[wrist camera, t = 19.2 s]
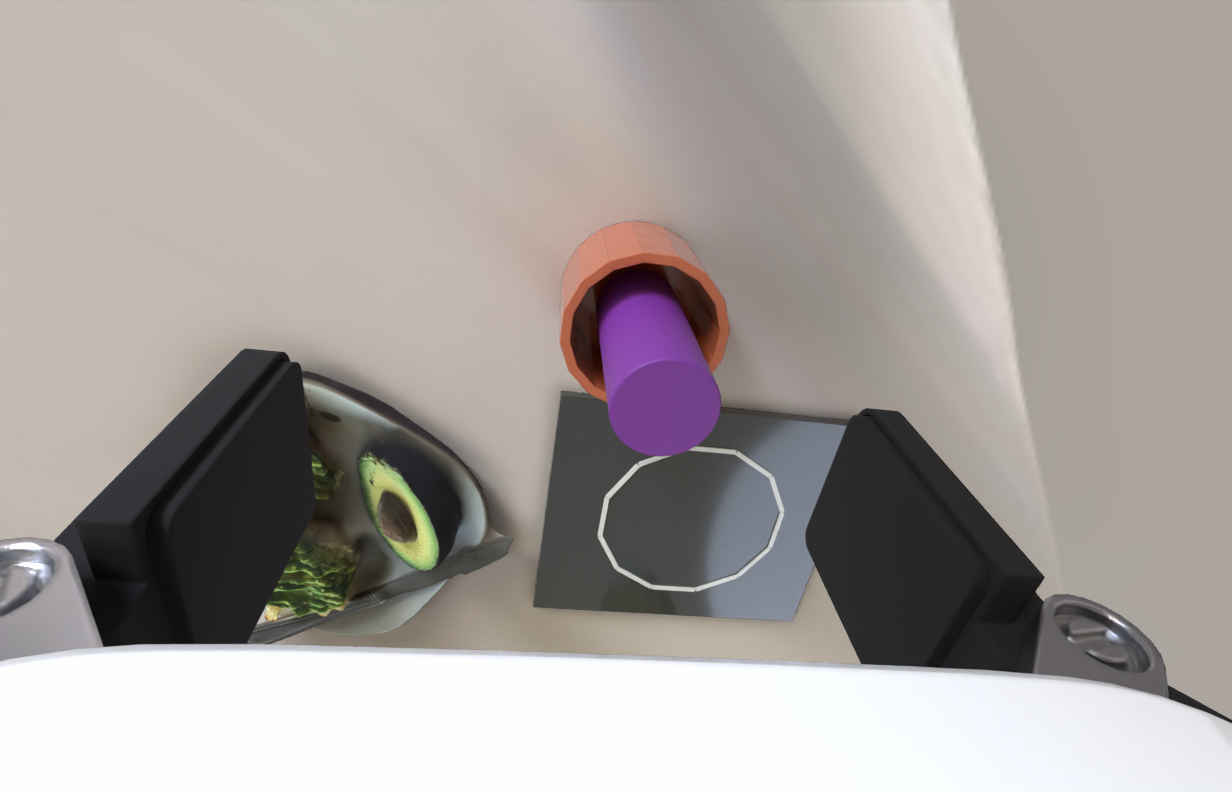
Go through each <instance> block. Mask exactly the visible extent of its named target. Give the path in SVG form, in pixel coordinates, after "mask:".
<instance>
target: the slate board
mask: <svg viewBox="0 0 1232 792" xmlns="http://www.w3.org/2000/svg"><path fill="white" fill-rule="evenodd" d="M848 422H849V421H848V420H838V419H829V418H819V417H809V416H799V415H790V414H780V413H770V412H761V411H751V410H741V409H732V408H722V407H721V410H720V415H719V418H718V421H717V423H716V425H715V427H714V428H713V430H712V431H711V433H710V434H709V435H708V436H707V437H706V438H705V439H704V440H703V441H702V442H701V443H700V444H698V445H697V446H695V447H693V448H692V449H690V450H688V451H685V452H683V453H680V454H676V455H671V456H650V455H646V454H642V453H639V452H637V451H635V450H633V449H631V448H630V447H628V446H627V445H625V444H624V443H623V442H622V441H621V440H620V439H619V438H618V436H617V435H616V434H615V432H614V430H613V428H612V426H611V423H610V419H609V412H608V404H607V402H605V401H603V400H601V399H599V398H597V397H595V396H593V395H591V394H586V393H577V392H567V391H561V394H560V401H559V409H558V417H557V424H556V432H555V440H554V447H553V455H552V462H551V470H550V478H549V485H548V493H547V500H546V508H545V516H544V523H543V531H542V539H541V546H540V554H539V561H538V569H537V577H536V584H535V592H534V600H533V607H539V608H557V609H575V610H594V611H612V612H630V613H648V614H666V615H685V616H703V617H721V618H739V619H757V620H775V621H792V619H793V617H794V614H795V612H796V609H797V607H798V604H799V602H800V599H801V597H802V594H803V592H804V590H805V587H806V585H807V582H808V580H809V577H810V575H811V572H812V570H813V567H814V565H815V564H814V562H813V560H812V558H811V556H810V554H809V551H808V549H807V546H806V541H805V534H806V529H807V526H808V523H809V520H810V518H811V515H812V513H813V510H814V508H815V505H816V503H817V500H818V498H819V495H820V493H821V490H822V487H823V485H824V482H825V480H826V477H827V475H828V472H829V470H830V467H831V465H832V462H833V460H834V457H835V455H836V452H837V449H838V447H839V444H840V442H841V439H842V437H843V434H844V432H845V429H846V427H847V424H848Z"/></svg>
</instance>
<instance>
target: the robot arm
mask: <svg viewBox="0 0 1232 792" xmlns="http://www.w3.org/2000/svg"><path fill="white" fill-rule="evenodd" d="M314 507H315V487H314V478H313V469H312V459H311V450H310V441H309V432H308V423H307V414H306V405H305V396H304V386H303V377H302V370H301V367H300V364H298V363H297V362H290V359H289V357H288V355H287V354H286V353H285V352H276V351H265V350H255V349H244V350H242V351H241V352H240V353H239V354H238V355H237V356H236V357H235V358H234V359H233V360H232V361H231V362H230V363H229V364H228V365H227V366H226V367H225V368H224V369H223V370H222V371H221V372H220V373H219V374H218V375H217V376H216V377H215V378H214V379H213V380H212V381H211V382H210V383H209V384H208V385H207V386H206V387H205V388H204V389H203V390H202V391H201V392H200V393H199V394H198V395H197V396H196V397H195V398H194V399H193V400H192V401H191V402H190V403H189V404H188V405H187V406H186V407H185V408H184V409H183V410H182V411H181V412H180V413H179V414H178V415H177V416H176V417H175V418H174V419H173V420H172V421H171V422H170V423H169V424H168V425H167V426H166V427H165V429H164V430H163V431H162V432H161V433H160V434H159V435H158V436H157V437H156V438H155V439H154V440H153V441H152V442H151V443H150V444H149V445H148V446H147V447H146V448H145V449H144V450H143V451H142V452H141V453H140V454H139V455H138V456H137V457H136V458H135V459H134V460H133V461H132V462H131V463H130V464H129V465H128V466H127V467H126V468H125V469H124V470H123V471H122V472H121V473H120V474H119V475H118V476H117V477H116V478H115V479H114V480H113V481H112V482H111V483H110V484H109V485H108V486H107V487H106V488H105V489H104V490H103V491H102V492H101V493H100V494H99V495H98V496H97V497H96V498H95V499H94V500H93V501H92V502H91V503H90V504H89V505H88V506H87V507H86V508H85V509H84V510H83V511H82V512H81V513H80V514H79V515H78V516H77V517H76V518H75V519H74V521H73V522H72V523H71V524H70V525H69V526H68V527H67V528H66V529H65V530H64V531H63V532H62V533H61V534H60V535H59V536H58V537H57V538H56V539H55V540H54V541H51V540H47V539H39V538H30V537H28V538H15V539H4V540H0V792H1232V720H1230V719H1229V718H1227V717H1225V716H1223V715H1221V714H1220V713H1218V712H1216V711H1214V710H1212V709H1210V708H1209V707H1207V706H1205V705H1203V704H1201V703H1200V702H1198V701H1196V700H1194V699H1192V698H1190V697H1189V696H1187V695H1185V694H1183V693H1181V692H1180V691H1178V690H1176V689H1174V688H1172V687H1170V686H1168V685H1167V676H1166V668H1165V664H1164V662H1163V659H1162V656H1161V654H1160V653H1159V651H1158V650H1157V648H1156V647H1155V646H1154V644H1153V643H1152V642H1151V640H1150V639H1148V638H1147V637H1146V636H1145V635H1144V634H1143V633H1142V632H1141V631H1140V630H1139V629H1138V628H1137V627H1136V626H1134V625H1133V624H1132V623H1130V622H1129V621H1127V620H1126V619H1125V618H1123V617H1122V616H1121V615H1119V614H1117V613H1115V612H1113V611H1112V610H1110V609H1108V608H1106V607H1104V606H1103V605H1101V604H1098V603H1096V602H1093V601H1091V600H1088V599H1085V598H1082V597H1078V596H1073V595H1069V594H1061V595H1053V596H1051V597H1049V598H1046V599H1045V601H1044V602H1043V601H1042V599H1041V598H1040V597H1039V596H1038V595H1037V593H1036V592H1035V591H1036V590H1037V588H1038V587H1039V585H1040V584H1041V582H1042V581H1043V579H1044V578H1045V577H1044V576H1043V575H1042V573H1041V572H1040V571H1039V570H1038V569H1037V568H1036V567H1035V566H1034V564H1033V563H1032V562H1031V561H1030V560H1029V559H1028V558H1027V556H1026V555H1025V554H1024V553H1023V552H1022V551H1021V550H1020V548H1019V547H1018V546H1017V545H1016V544H1015V543H1014V542H1013V540H1012V539H1011V538H1010V537H1009V536H1008V535H1007V534H1006V532H1005V531H1004V530H1003V529H1002V528H1001V527H1000V526H999V524H998V523H997V522H996V521H995V520H994V519H993V518H992V516H991V515H990V514H989V513H988V512H987V511H986V510H985V508H984V507H983V506H982V505H981V504H980V503H979V502H978V500H977V499H976V498H975V497H974V496H973V495H972V494H971V493H970V491H969V490H968V489H967V488H966V487H965V486H964V485H963V483H962V482H961V481H960V480H959V479H958V478H957V477H956V475H955V474H954V473H953V472H952V471H951V470H950V469H949V467H948V466H947V465H946V464H945V463H944V462H943V461H942V459H941V458H940V457H939V456H938V455H937V454H936V453H935V451H934V450H933V449H932V448H931V447H930V446H929V445H928V443H927V442H926V441H925V440H924V439H923V438H922V437H921V435H920V434H919V433H918V432H917V431H916V430H915V429H914V427H913V426H912V425H911V424H910V423H909V422H908V421H907V420H906V418H905V417H904V416H903V415H902V414H901V413H899V412H898V411H890V410H879V409H869V408H866V409H864V410H862V411H861V412H860V413H859V415H855V416H852V418H851V419H850V420H849V422H848V424H847V427H846V429H845V432H844V434H843V437H842V439H841V442H840V444H839V447H838V449H837V452H836V455H835V457H834V460H833V462H832V465H831V467H830V470H829V472H828V475H827V477H826V480H825V482H824V485H823V487H822V490H821V493H820V495H819V498H818V500H817V503H816V505H815V508H814V510H813V513H812V515H811V518H810V520H809V523H808V526H807V529H806V534H805V541H806V546H807V549H808V551H809V554H810V556H811V558H812V560H813V562H814V564H815V566H816V568H817V571H818V573H819V575H820V577H821V579H822V581H823V583H824V585H825V588H826V590H827V592H828V594H829V596H830V598H831V600H832V603H833V605H834V607H835V609H836V611H837V613H838V615H839V617H840V620H841V622H842V624H843V626H844V628H845V630H846V632H847V634H848V637H849V639H850V641H851V643H852V645H853V647H854V649H855V652H856V654H857V656H858V658H859V660H860V662H861V664H843V663H820V662H796V661H772V660H747V659H720V658H693V657H666V656H639V655H610V654H581V653H553V652H522V651H489V650H456V649H423V648H390V647H357V646H318V645H275V644H247V642H248V640H249V639H250V637H251V635H252V633H253V631H254V629H255V627H256V625H257V623H258V621H259V619H260V617H261V615H262V613H263V611H264V609H265V607H266V605H267V603H268V601H269V599H270V597H271V596H272V594H273V592H274V590H275V588H276V586H277V584H278V582H279V580H280V578H281V576H282V574H283V572H284V570H285V568H286V566H287V564H288V562H289V560H290V558H291V556H292V554H293V553H294V551H295V549H296V547H297V545H298V543H299V541H300V539H301V537H302V535H303V533H304V531H305V529H306V527H307V525H308V523H309V521H310V519H311V517H312V515H313V511H314Z"/></svg>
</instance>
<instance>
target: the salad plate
mask: <svg viewBox="0 0 1232 792" xmlns="http://www.w3.org/2000/svg"><path fill="white" fill-rule="evenodd" d="M302 377H303V386H304V396H305V405H306V414H307V423H308V432H309V441H310V450H311V459H312V469H313V478H314V487H315V507H314V511H313V515H312V517H311V519H310V521H309V523H308V525H307V527H306V529H305V531H304V533H303V535H302V537H301V539H300V541H299V543H298V545H297V547H296V549H295V551H294V553H293V554H292V556H291V558H290V560H289V562H288V564H287V566H286V568H285V570H284V572H283V574H282V576H281V578H280V580H279V582H278V584H277V586H276V588H275V590H274V592H273V594H272V596H271V597H270V599H269V601H268V603H267V605H266V607H265V609H264V611H263V613H262V615H261V617H260V619H259V621H258V623H257V625H256V627H255V629H254V631H253V633H252V635H251V637H250V639H249V640H248V642H247V644H272V643H274V642H277V641H280V640H282V639H285V638H287V637H290V636H293V635H295V634H298V633H300V632H302V631H305V630H308V629H311V628H312V629H314V630H318V631H322V632H326V633H330V634H336V635H343V636H357V635H369V634H378V633H384V632H388V631H390V630H393V629H395V628H397V627H399V626H401V625H402V624H404V622H406V621H407V620H408V619H410V618H411V617H412V616H414V615H415V614H416V613H417V612H418V611H419V610H420V609H421V608H422V607H423V606H424V605H425V604H426V603H427V602H428V600H429V599H430V598H431V597H432V596H433V595H434V594H435V593H436V592H437V591H438V590H439V589H440V588H441V587H442V586H443V584H444V583H445V582H446V581H447V579H450V578H452V577H453V576H455V575H457V574H468V573H470V572H473V571H475V570H478V569H480V568H482V567H484V566H487V565H488V564H490V563H492V562H495V561H496V560H498V559H500V558H502V557H503V556H505V555H506V554H508V550H509V548H510V544H511V543H512V540H513V538H510V537H507V536H504V535H501V534H500V533H498V532H497V531H496V530H495V528H494V526H493V525H492V522H491V520H490V517H489V512H488V507H487V503H486V499H485V496H484V494H483V491H482V488H481V486H480V484H479V483H478V481H477V479H476V477H475V476H474V475H473V474H472V473H471V471H470V470H469V469H468V468H467V466H466V465H465V464H464V463H463V462H462V461H461V460H460V459H459V457H458V456H457V455H456V454H455V453H454V452H453V451H452V450H451V449H450V448H448V447H447V446H446V445H445V444H443V443H442V442H440V441H439V440H438V439H436V438H435V437H433V436H432V435H431V434H430V433H428V432H427V431H426V430H424V429H423V428H421V427H420V426H418V425H417V424H415V423H414V422H412V421H411V420H410V419H408V418H407V417H405V416H404V415H402V414H401V413H399V412H398V411H396V410H395V409H394V408H392V407H391V406H389V405H387V404H386V403H384V402H382V401H380V400H378V399H376V398H374V397H372V396H370V395H368V394H366V393H364V392H361V391H359V390H357V389H354V388H352V387H349V386H346V385H344V384H341V383H339V382H336V381H334V380H332V379H329V378H327V377H324V376H321V375H318V374H315V373H311V372H307V371H302Z"/></svg>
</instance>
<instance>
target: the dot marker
mask: <svg viewBox="0 0 1232 792" xmlns="http://www.w3.org/2000/svg"><path fill="white" fill-rule="evenodd" d="M596 316H597V324H598V332H599V340H600V348H601V356H602V364H603V372H604V380H605V388H606V396H607V404H608V412H609V419H610V423H611V426H612V428H613V430H614V432H615V434H616V435H617V436H618V438H619V439H620V440H621V441H622V442H623V443H624V444H625V445H627V446H628V447H630V448H631V449H633V450H635V451H637V452H639V453H642V454H646V455H650V456H671V455H676V454H680V453H683V452H685V451H688V450H690V449H692V448H693V447H695V446H697V445H698V444H700V443H701V442H702V441H703V440H704V439H705V438H706V437H707V436H708V435H709V434H710V433H711V431H712V430H713V428H714V427H715V425H716V423H717V421H718V418H719V415H720V410H721V395H720V391H719V388H718V386H717V384H716V382H715V379H714V377H713V375H712V373H711V371H710V368H709V366H708V364H707V362H706V360H705V358H704V355H703V353H702V351H701V349H700V347H699V344H698V342H697V340H696V338H695V336H694V334H693V331H692V329H691V327H690V325H689V323H688V321H687V318H686V316H685V314H684V312H683V310H682V307H681V305H680V303H679V301H678V299H677V297H676V294H675V292H674V290H673V288H672V287H671V285H670V284H669V283H668V281H667V280H665V279H664V278H663V277H662V276H660V275H659V274H657V273H655V272H652V271H648V270H642V269H634V270H628V271H625V272H622V273H620V274H618V275H616V276H614V277H613V278H612V279H610V280H609V281H608V282H607V283H606V284H605V286H604V287H603V288H602V290H601V292H600V294H599V296H598V299H597V303H596Z"/></svg>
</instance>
